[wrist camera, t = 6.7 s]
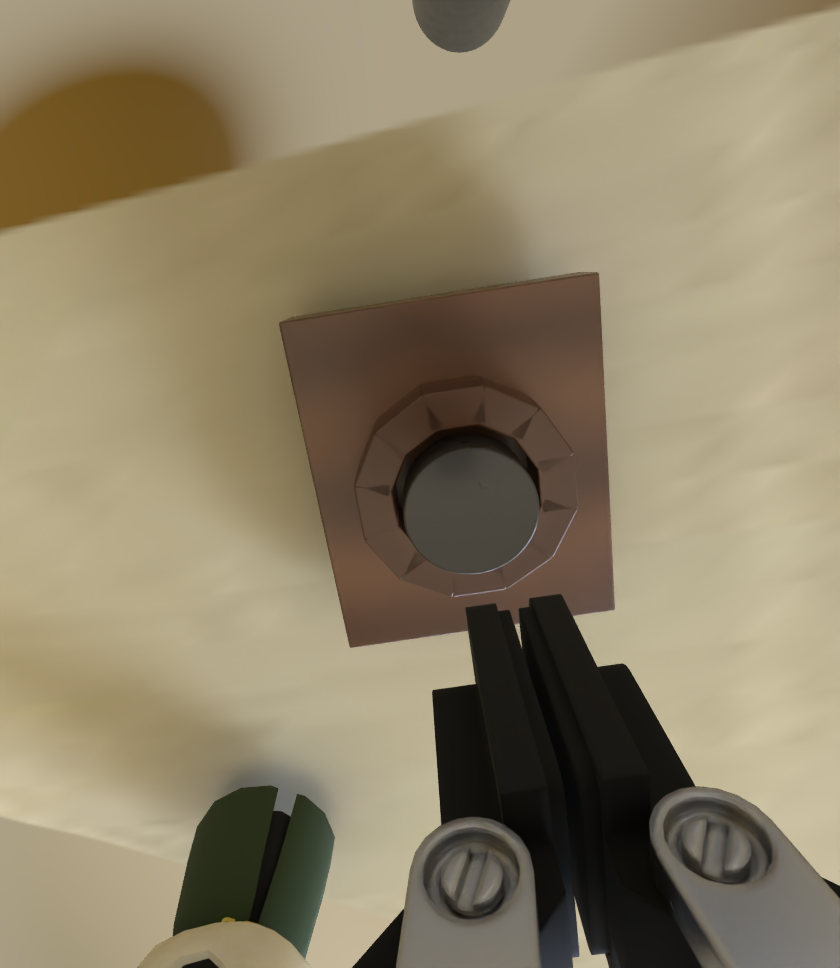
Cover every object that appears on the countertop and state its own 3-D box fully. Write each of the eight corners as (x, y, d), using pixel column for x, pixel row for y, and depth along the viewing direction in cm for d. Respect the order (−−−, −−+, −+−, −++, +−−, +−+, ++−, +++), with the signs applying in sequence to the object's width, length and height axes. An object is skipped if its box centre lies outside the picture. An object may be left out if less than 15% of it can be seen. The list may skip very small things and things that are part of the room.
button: (394, 442, 19) (393, 459, 17) (522, 423, 19) (534, 437, 17) (413, 558, 20) (414, 584, 18) (533, 540, 20) (545, 564, 18)
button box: (290, 317, 21) (265, 327, 17) (579, 272, 21) (619, 271, 17) (353, 617, 25) (345, 679, 21) (597, 582, 25) (632, 638, 21)
